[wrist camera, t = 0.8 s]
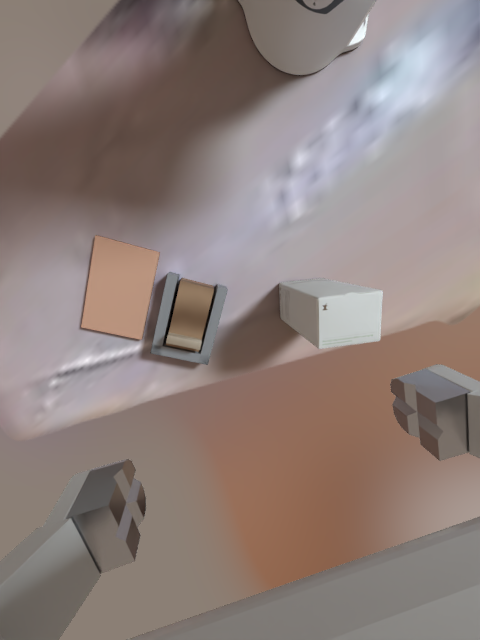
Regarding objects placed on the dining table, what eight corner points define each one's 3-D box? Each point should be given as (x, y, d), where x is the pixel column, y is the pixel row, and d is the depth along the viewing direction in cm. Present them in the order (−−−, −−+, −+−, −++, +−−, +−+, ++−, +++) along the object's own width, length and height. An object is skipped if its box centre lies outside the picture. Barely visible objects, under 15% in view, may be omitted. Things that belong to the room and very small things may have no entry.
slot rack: (169, 271, 43) (167, 273, 40) (226, 286, 45) (227, 289, 42) (153, 346, 46) (150, 353, 43) (207, 357, 48) (207, 364, 45)
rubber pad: (97, 235, 41) (95, 235, 40) (160, 252, 42) (159, 252, 42) (83, 325, 44) (81, 327, 43) (142, 338, 45) (141, 339, 45)
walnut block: (182, 277, 44) (179, 282, 39) (213, 285, 45) (214, 291, 40) (168, 336, 46) (164, 348, 41) (198, 343, 47) (198, 355, 42)
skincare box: (279, 318, 48) (314, 352, 33) (277, 279, 46) (314, 296, 31) (326, 313, 48) (382, 344, 34) (326, 275, 47) (385, 289, 32)
